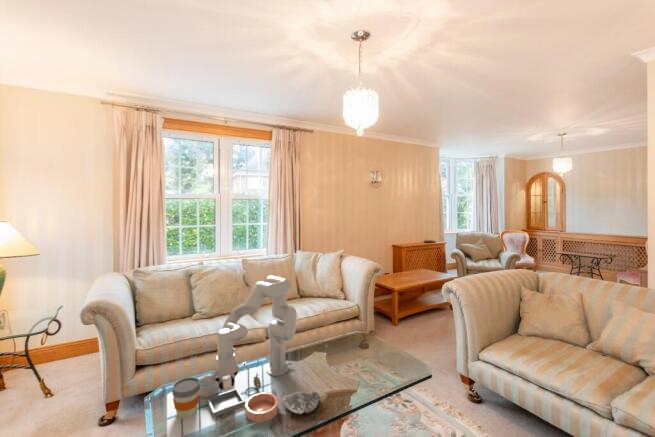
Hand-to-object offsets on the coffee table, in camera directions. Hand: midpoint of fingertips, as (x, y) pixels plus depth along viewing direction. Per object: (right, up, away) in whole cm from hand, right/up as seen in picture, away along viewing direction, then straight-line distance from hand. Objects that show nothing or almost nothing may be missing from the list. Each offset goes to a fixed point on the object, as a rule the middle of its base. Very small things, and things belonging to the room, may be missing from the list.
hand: (226, 386), depth 166 cm
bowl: (+19, -11, -3) cm, 22 cm away
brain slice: (+39, -11, 0) cm, 41 cm away
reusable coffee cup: (-18, -11, -6) cm, 22 cm away
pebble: (0, 0, 0) cm, 1 cm away
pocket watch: (+11, -9, +12) cm, 19 cm away
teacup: (-13, -9, +10) cm, 19 cm away
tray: (-1, -10, 0) cm, 10 cm away
